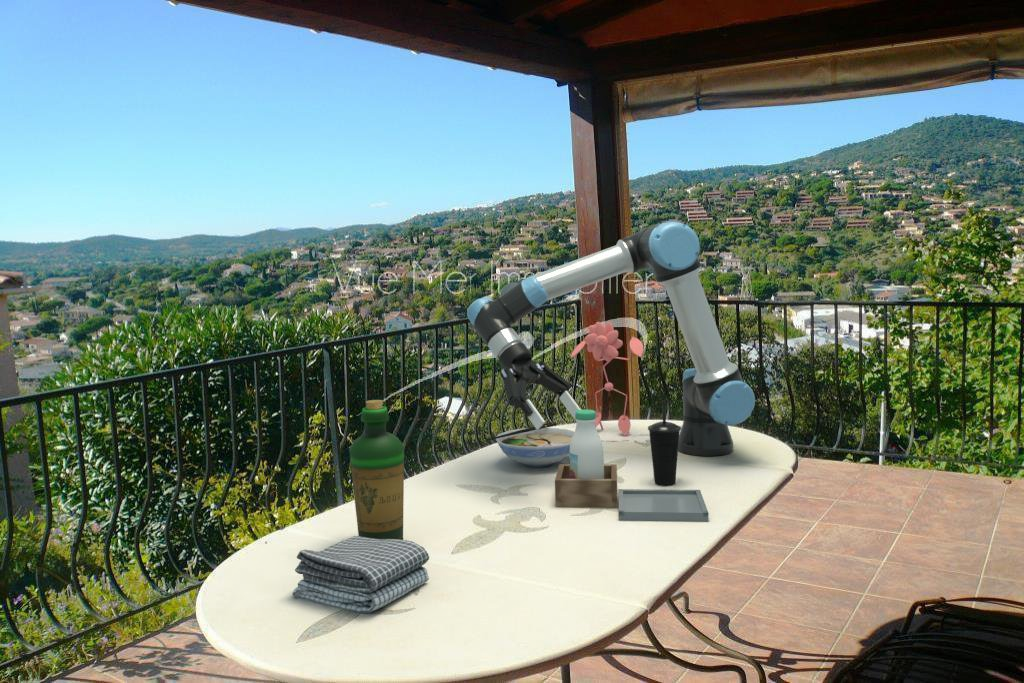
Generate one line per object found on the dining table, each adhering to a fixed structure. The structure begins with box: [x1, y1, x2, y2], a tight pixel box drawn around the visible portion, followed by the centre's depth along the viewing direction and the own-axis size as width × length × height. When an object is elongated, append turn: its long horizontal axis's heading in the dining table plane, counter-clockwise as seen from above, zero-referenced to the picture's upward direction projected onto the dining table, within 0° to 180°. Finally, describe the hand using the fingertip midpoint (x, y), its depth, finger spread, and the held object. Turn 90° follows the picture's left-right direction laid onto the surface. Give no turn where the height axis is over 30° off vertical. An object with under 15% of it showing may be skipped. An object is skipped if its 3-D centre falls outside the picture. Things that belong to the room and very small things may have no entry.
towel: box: [291, 535, 430, 614], centre depth 131 cm, size 15×18×8 cm
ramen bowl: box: [485, 421, 575, 468], centre depth 208 cm, size 25×23×8 cm
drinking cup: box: [647, 399, 682, 487], centre depth 185 cm, size 8×8×20 cm
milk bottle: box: [568, 409, 605, 479], centre depth 176 cm, size 8×8×20 cm
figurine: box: [570, 321, 645, 443], centre depth 236 cm, size 15×26×35 cm, turn 53°
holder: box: [554, 463, 618, 509], centre depth 176 cm, size 13×13×6 cm
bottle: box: [348, 399, 405, 540], centre depth 151 cm, size 11×11×28 cm
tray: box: [618, 488, 709, 522], centre depth 168 cm, size 18×16×2 cm
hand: (560, 420), depth 179 cm, fingers open, 13 cm apart
